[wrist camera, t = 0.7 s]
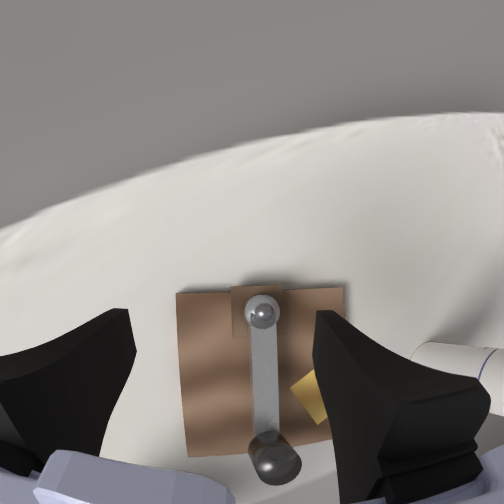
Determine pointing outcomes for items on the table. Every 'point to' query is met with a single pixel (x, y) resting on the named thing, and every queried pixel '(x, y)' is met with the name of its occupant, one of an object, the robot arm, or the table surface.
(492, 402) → the cylindrical container
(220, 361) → the cracker board
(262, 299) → the lever
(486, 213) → the table surface
